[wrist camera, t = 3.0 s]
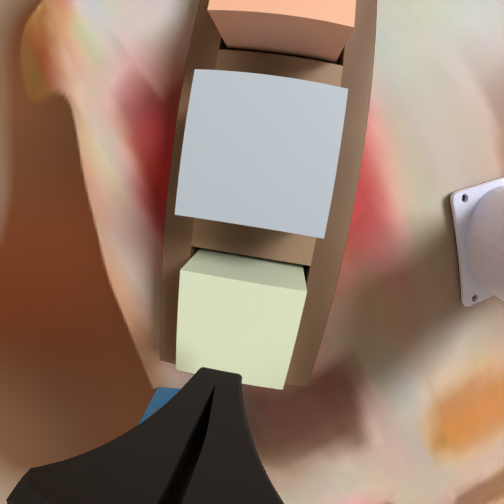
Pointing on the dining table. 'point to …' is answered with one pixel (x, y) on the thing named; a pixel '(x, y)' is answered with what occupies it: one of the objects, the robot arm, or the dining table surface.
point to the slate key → (261, 151)
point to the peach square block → (286, 25)
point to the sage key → (239, 315)
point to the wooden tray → (265, 240)
